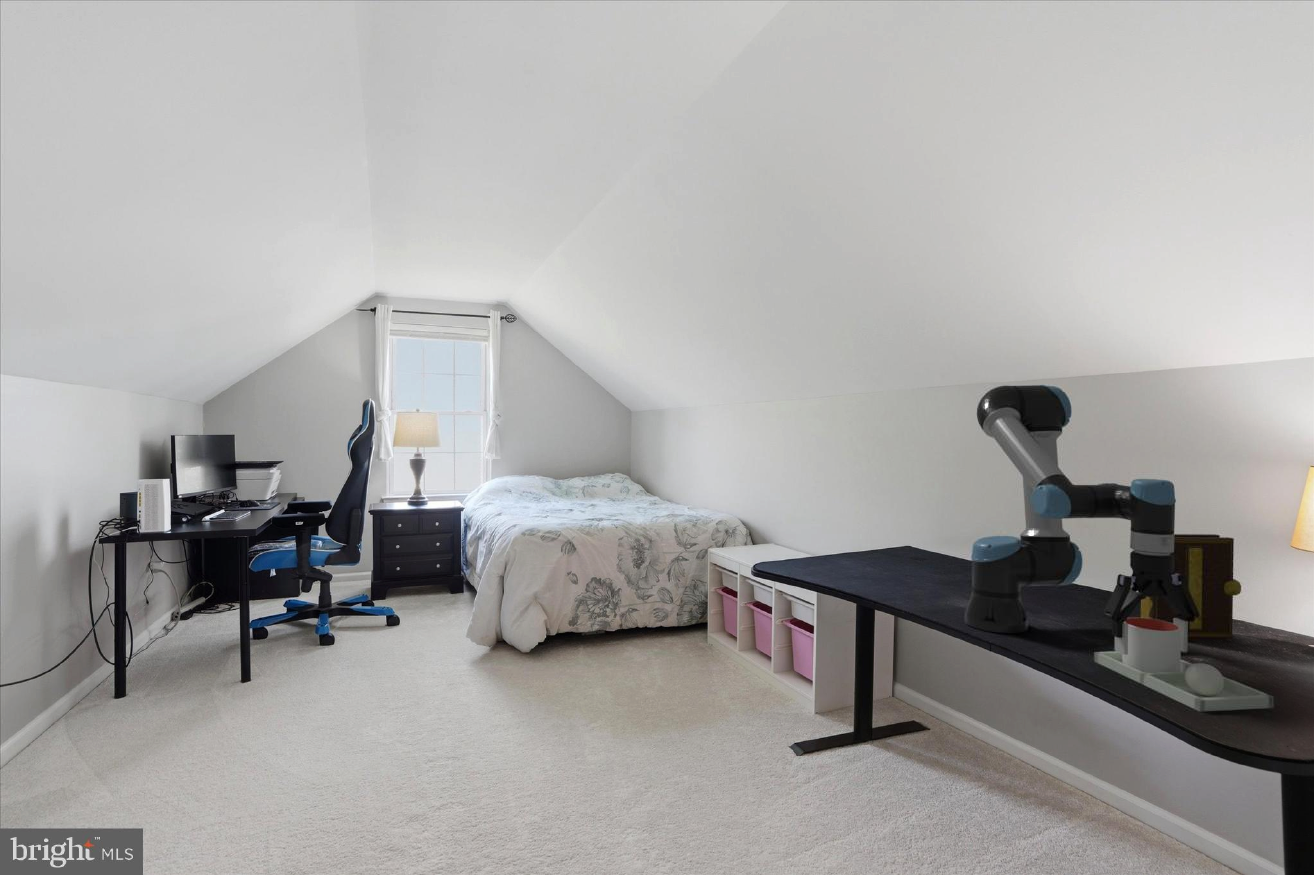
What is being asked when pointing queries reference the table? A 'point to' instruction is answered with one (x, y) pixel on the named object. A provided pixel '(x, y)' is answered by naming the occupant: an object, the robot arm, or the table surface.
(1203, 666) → the egg
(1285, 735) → the table surface
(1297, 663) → the table surface
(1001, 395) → the robot arm
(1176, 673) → the holder
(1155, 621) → the cup
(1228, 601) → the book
